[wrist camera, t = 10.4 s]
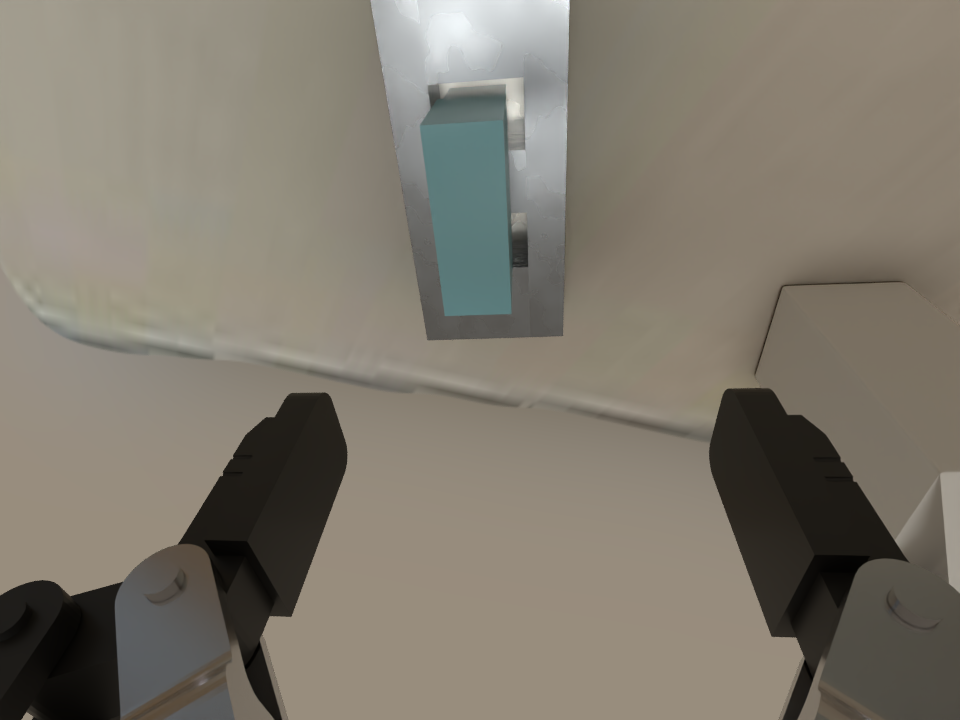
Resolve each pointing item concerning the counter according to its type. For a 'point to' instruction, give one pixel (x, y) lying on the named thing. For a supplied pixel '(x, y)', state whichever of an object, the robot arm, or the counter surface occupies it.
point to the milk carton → (879, 402)
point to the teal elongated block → (470, 198)
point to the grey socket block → (531, 139)
